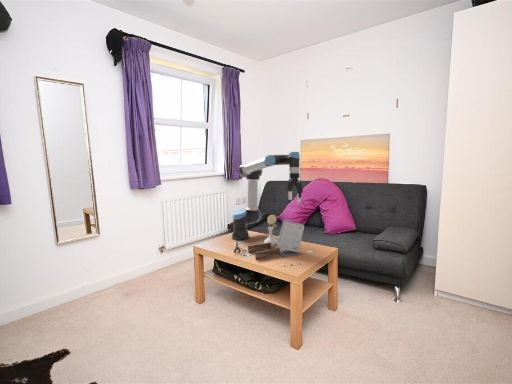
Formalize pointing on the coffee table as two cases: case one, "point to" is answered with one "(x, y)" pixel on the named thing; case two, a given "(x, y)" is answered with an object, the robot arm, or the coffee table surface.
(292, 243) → the hard drive box
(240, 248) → the eiffel tower figurine
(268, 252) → the walnut shelf bay
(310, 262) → the coffee table surface
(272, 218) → the flower in vase
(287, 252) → the felt pad
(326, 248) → the coffee table surface
